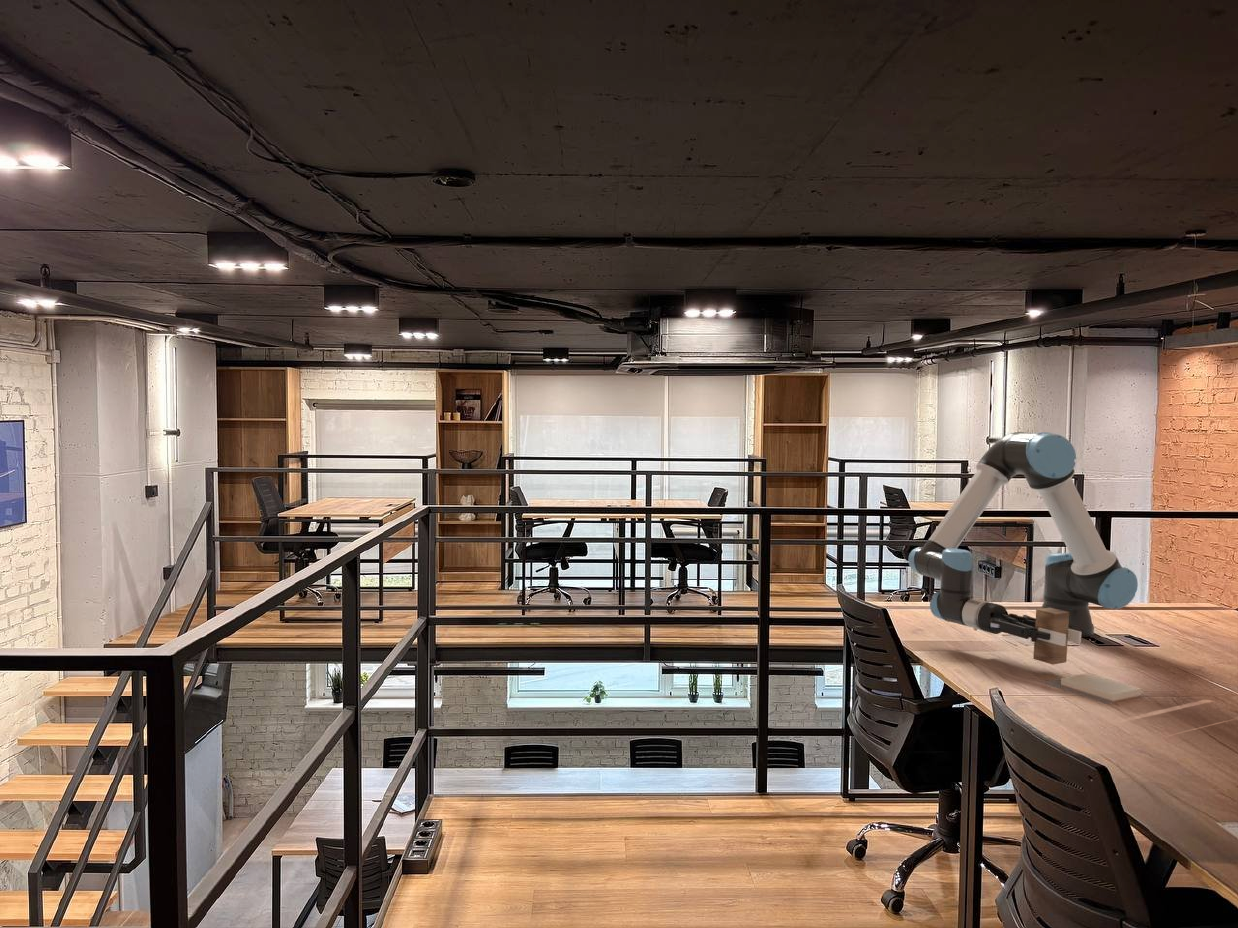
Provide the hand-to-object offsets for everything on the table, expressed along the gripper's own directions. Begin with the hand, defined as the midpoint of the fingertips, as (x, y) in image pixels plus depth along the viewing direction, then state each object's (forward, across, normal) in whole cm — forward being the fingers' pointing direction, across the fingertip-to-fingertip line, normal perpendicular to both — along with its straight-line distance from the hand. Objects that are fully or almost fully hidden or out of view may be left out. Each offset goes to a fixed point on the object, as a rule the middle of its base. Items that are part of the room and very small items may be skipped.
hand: (1072, 638), depth 190 cm
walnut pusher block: (-5, 0, -6) cm, 8 cm away
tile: (+1, 0, -9) cm, 9 cm away
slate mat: (+6, 0, -10) cm, 12 cm away
